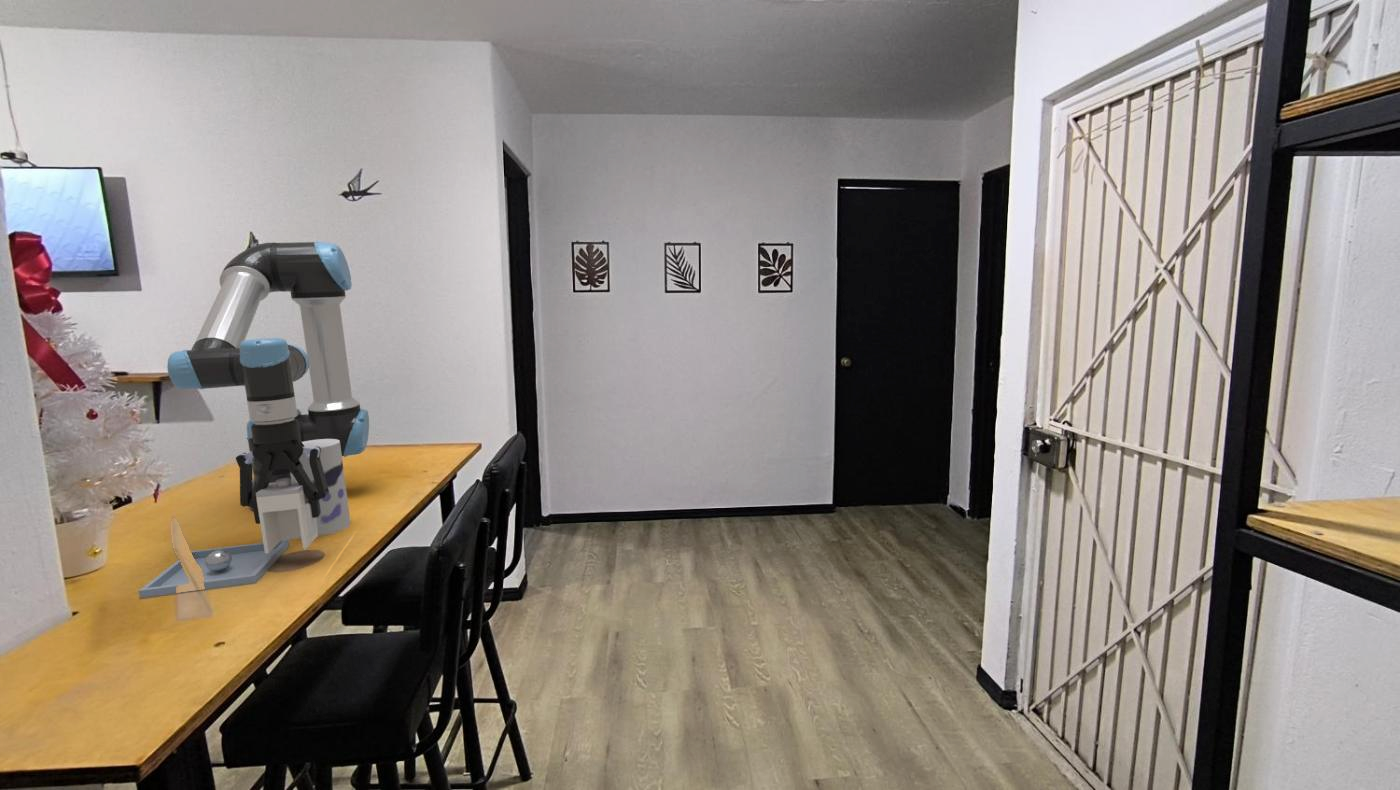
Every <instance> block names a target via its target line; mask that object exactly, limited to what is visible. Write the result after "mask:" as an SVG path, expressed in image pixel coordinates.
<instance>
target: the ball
mask: <svg viewBox="0 0 1400 790" xmlns="http://www.w3.org/2000/svg"><path fill="white" fill-rule="evenodd" d="M231 561H232V558H231V555H230V554H229V553H228V552H226V551H223V550H218V551H214V552H212V553H211V554H209V555H208V557H207V558H206V561H205V565H206V567H207V568H208V569H209V570H210V571H213V572H220V571H223V570H225V569H227V568H228V567H229V566H230V564H231Z"/></svg>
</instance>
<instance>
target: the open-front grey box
mask: <svg viewBox="0 0 1400 790" xmlns="http://www.w3.org/2000/svg"><path fill="white" fill-rule="evenodd" d="M256 499H257V505H258V512H259V518H260V524H259V525H260V530H261V537H262V543H263V544H264V551H265V553H269V552H270V551H271V550H272V549H273V548H274V547H275V546H276V545H277V544H278V543H279V542H280V541H282V540H289V541H290V540H298V539H301V543H302V549H303V550H307V549H308V548H309V546H310V545H312V543H313V542H314V540H316V538H317V537H319V536H318V532H316V533H315V535H314V536H309V530H308V523H307V516H306V509H305V503H306V502H308V501H309V500H308V499H307V497H306V495H305V494H304V492H303V485H302V486H300V485H299V484H298V482H297V481H296V480H294V481H291V479H290V478H283V479H278V480H276V482H273V483H269V486H268V487H266V488H265V489H262V490H260V491H258V492H257V493H256Z"/></svg>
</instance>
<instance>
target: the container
mask: <svg viewBox="0 0 1400 790" xmlns="http://www.w3.org/2000/svg"><path fill="white" fill-rule="evenodd" d="M302 443H303V445H304V446H305V447H312V448H315V447H317V446H318V447H320V448H321V454H320V460H321V464H322V467H323V471H324V475H325V478H326V482H327V485H328V489H329V493H328V494H327V495H326V496H325V497H324V498H321V499H320V500H319V502H320V510H321V514H320V516H319V517H316V521H317V528H318V531H317V532H318V536H317V537H323V536H327V535H332V534H335V533H338V532H341V531H343V530H345V529H347V528H349V527H350V525H351V516H350V507H349V501H348V493H347V485H346V477H345V471H344V464H343V463H344V462H343V456H342V454H341V446H340V441H339V440H337V439H318V440H310V441H304V442H302ZM299 460H300V462H301V463H302V465H303V469H304V470H305V472H306V474H307V475H308V477H309V479H310V480H311V482H312V484H313V485H314V487H315V489H316V490H317V488H316V485H315V481H314V478H313V474H312V470H311V467H310V463H309V459H308V458H307V457H306V454H305V453H303V454H302V455H301V457H300V458H299ZM290 475H291V481H294V480H296V479H295V477H294V476H293V474H292V473H290Z"/></svg>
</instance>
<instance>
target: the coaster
mask: <svg viewBox="0 0 1400 790" xmlns="http://www.w3.org/2000/svg"><path fill="white" fill-rule="evenodd" d="M324 558H325V552H323V550H317V549H304V550H299V551H294V552H289V553H287V554H282V555H281V556H280V557H279V558H278V559H277V560H276V561H275V563H274V564H273V565H272V566H271V567H270V568H269V569H268V570H267V572H272V573H286V572H291V571H296V570H301V569H304V568H308V567H310V566H312V565H314V564H317V563H319V562H320V561H321V560H323V559H324Z"/></svg>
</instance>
